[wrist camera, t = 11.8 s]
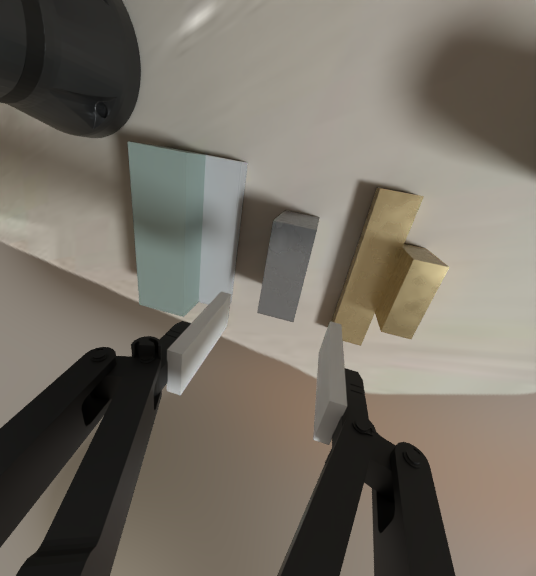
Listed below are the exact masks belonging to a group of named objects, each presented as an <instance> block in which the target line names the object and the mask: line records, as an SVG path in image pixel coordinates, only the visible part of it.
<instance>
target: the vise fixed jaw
mask: <svg viewBox="0 0 536 576" xmlns="http://www.w3.org/2000/svg"><path fill="white" fill-rule="evenodd" d="M128 154H129V168H130V181H131V195H132V208H133V222H134V236H135V249H136V263H137V277H138V290H139V304H140V305H143V306H147V307H150V308H154V309H157V310H161V311H164V312H168V313H172V314H175V315H179V316H182V317H184V316H185V315H186V314H187V313H188V312H189V311H190V310H191V309H192V308H193V307H194V306H195V305H196V304H197V303H198V302H201V303H205V304H208V305H209V304H210V303H211V302H212V301H213V300H214V299H215V297H216V296H217V295H218V294H219V293H220V292H221V291H222V292H225V293H229V294H231V301H232V292H233V283H234V275H235V266H236V258H237V249H238V241H239V232H240V223H241V215H242V206H243V198H244V189H245V181H246V172H247V164H248V163H247V162H242V161H237V160H232V159H226V158H221V157H216V156H211V155H205V154H200V153H195V152H190V151H184V150H179V149H174V148H169V147H163V146H156V145H149V144H142V143H135V142H128ZM231 301H230V303H231Z"/></svg>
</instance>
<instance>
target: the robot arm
mask: <svg viewBox="0 0 536 576" xmlns="http://www.w3.org/2000/svg"><path fill="white" fill-rule="evenodd" d="M140 76H141V67H140V55H139V48H138V43H137V39H136V35H135V31H134V28H133V25H132V22H131V19H130V17H129V14H128V12H127V10H126V7H125V6H124V4H123V2H122V0H0V102H1V103H5V104H8V105H10V106H12V107H14V108H16V109H18V110H20V111H22V112H24V113H26V114H28V115H30V116H32V117H34V118H35V119H37V120H39V121H41V122H43V123H45V124H47V125H49V126H51V127H53V128H55V129H57V130H59V131H62V132H64V133H67V134H71V135H75V136H82V137H89V138H102V137H106V136H109V135H111V134H113V133H115V132H117V131H118V130H119V129H120V128H121V127H122V126H123V125H124V124H125V123H126V122H127V121H128V119H129V117H130V116H131V114H132V112H133V110H134V107H135V105H136V102H137V98H138V94H139V88H140ZM230 301H231V294H229V293H225V292H222V291H221V292H220V293H219V294H218V295H217V296H216V297H215V299H214V300H213V301H212V302H211V303H210V304H209V305H208V306H207V307H206V308H205V309H204V310H203V311H202V313H201V314H200V315H199V316H198V317H197V318H196V319H195V320H194V321H193V322H192V323H188V322H184V321H182V322H179V323H177V324H175V325H174V326H173V327H172V328H171V329H170V330H169V331H168V332H167V333H166V334H165V335H164V336H163V337H162V338H161V339H160V340H159V339H157V338H155V337H151V336H148V337H141V338H139V339H137V340H135V341H134V342H133V343H132V344H131V349H132V357H126V356H116V353H115V351H114V350H113V349H111V348H109V347H100V348H96V349H93V350H90V351H89V352H87V353H86V354H85V355H84V356H82V357H81V358H80V359H79V360H78V361H77V362H76V363H74V364H73V365H72V366H71V367H70V368H69V369H68V370H67V371H65V372H64V373H63V374H62V375H61V376H60V377H58V378H57V379H56V380H55V381H54V382H53V383H52V384H51V385H49V386H48V387H47V388H46V389H45V390H44V391H43V392H41V393H40V394H39V395H38V396H37V397H36V398H35V399H33V400H32V401H31V402H30V403H29V404H28V405H27V406H25V407H24V408H23V409H22V410H21V411H20V412H19V413H17V414H16V415H15V416H14V417H13V418H12V419H11V420H9V422H7V423H6V424H5V425H4V426H3V427H2V428H0V547H1V546H2V545H3V543H4V542H5V541H6V540H7V538H8V537H9V536H10V534H11V533H12V532H13V531H14V529H15V528H16V527H17V526H18V524H19V523H20V522H21V520H22V519H23V518H24V517H25V515H26V514H27V513H28V512H29V510H30V509H31V508H32V506H33V505H34V504H35V503H36V501H37V500H38V499H39V498H40V496H41V495H42V494H43V492H44V491H45V490H46V489H47V487H48V486H49V485H50V483H51V482H52V481H53V480H54V478H55V477H56V476H57V475H58V473H59V472H60V471H61V469H62V468H63V467H64V466H65V464H66V463H67V462H68V460H69V459H70V458H71V457H72V455H73V454H74V453H75V452H76V450H77V449H78V448H79V447H80V445H81V444H82V443H83V441H84V440H85V439H86V438H87V436H88V435H89V434H90V433H91V431H92V430H93V429H94V427H95V426H96V425H97V424H98V422H99V421H100V420H101V418H102V417H103V416H104V417H103V419H102V421H101V423H100V425H99V427H98V429H97V431H96V433H95V435H94V437H93V439H92V442H91V444H90V446H89V448H88V450H87V452H86V454H85V456H84V458H83V460H82V462H81V464H80V466H79V469H78V470H77V472H76V474H75V477H74V479H73V481H72V483H71V485H70V487H69V489H68V491H67V493H66V495H65V497H64V499H63V501H62V503H61V505H60V508H59V509H58V512H57V514H56V516H55V518H54V520H53V522H52V524H51V526H50V528H49V530H48V532H47V534H46V536H45V538H44V540H43V542H42V544H41V546H40V547H39V549H38V550H37V551H36V553H34V554H33V555H32V556H30V557H29V558H28V559H27V560H26V561H25V563H24V564H23V565H22V566H21V568H20V570H19V571H18V573H17V575H16V576H110V573H111V569H112V566H113V562H114V559H115V556H116V552H117V549H118V545H119V541H120V538H121V534H122V531H123V528H124V524H125V521H126V517H127V514H128V510H129V507H130V504H131V500H132V497H133V493H134V490H135V486H136V483H137V479H138V476H139V472H140V469H141V466H142V462H143V459H144V455H145V452H146V448H147V444H148V441H149V438H150V434H151V431H152V427H153V424H154V420H155V416H156V414H157V410H158V407H159V403H160V399H161V395H162V389H163V388H164V386H165V385H166V384H167V391H169V392H172V393H175V394H178V395H181V394H182V392H183V391H184V389H185V388H186V386H187V385H188V383H189V382H190V380H191V379H192V377H193V376H194V374H195V373H196V372H197V370H198V368H199V367H200V366H201V364H202V363H203V361H204V360H205V358H206V357H207V355H208V354H209V352H210V351H211V349H212V348H213V346H214V345H215V343H216V342H217V340H218V339H219V337H220V336H221V335H222V333H223V332H224V330H225V329H226V327H227V323H228V316H229V308H230ZM313 440H316V441H319V442H322V443H325V444H328V445H329V444H330V442H331V440H332V449H331V451H330V453H329V455H328V458H327V460H326V462H325V465H324V468H323V470H322V472H321V474H320V477H319V479H318V481H317V484H316V486H315V488H314V491H313V493H312V496H311V498H310V500H309V503H308V505H307V507H306V510H305V512H304V514H303V517H302V519H301V521H300V524H299V526H298V528H297V531H296V533H295V535H294V538H293V540H292V543H291V545H290V547H289V549H288V552H287V554H286V556H285V559H284V561H283V563H282V566H281V568H280V570H279V573H278V575H277V576H339V575H340V571H341V567H342V564H343V560H344V556H345V553H346V548H347V545H348V541H349V537H350V534H351V530H352V526H353V522H354V518H355V515H356V511H357V507H358V503H359V500H360V496H361V492H362V488H363V484H364V483H366V484H367V485H369V486H370V487H371V488H372V505H373V507H372V508H373V541H374V576H455V572H454V568H453V564H452V560H451V555H450V551H449V547H448V542H447V538H446V534H445V529H444V525H443V521H442V517H441V513H440V508H439V504H438V500H437V496H436V491H435V487H434V482H433V478H432V474H431V469H430V465H429V463H428V460H427V459H426V457H425V456H424V454H423V453H422V452H421V451H420V450H419V449H417V448H416V447H415V446H413V445H411V444H410V443H406V442H401V443H398V444H397V445H394V444H392V443H391V442H389V441H387V440H386V439H384V438H383V437H381V436H380V435H379V434H378V433H377V432H376V430H375V427H374V425H373V424H372V423H371V422H370V421H369V419H368V411H367V405H366V399H365V392H364V386H363V380H362V378H361V376H360V375H359V373H358V372H356V371H352V370H349V369H346V368H344V354H343V340H342V326H341V324H338V323H334V322H331V321H330V323H329V325H328V328H327V331H326V334H325V337H324V340H323V343H322V345H321V348H320V351H319V359H318V374H317V391H316V406H315V422H314V436H313Z"/></svg>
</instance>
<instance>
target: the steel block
mask: <svg viewBox="0 0 536 576" xmlns="http://www.w3.org/2000/svg"><path fill="white" fill-rule="evenodd" d="M319 218H320V217H315V216H311V215H306V214H301V213H296V212H292V211H287V210H285V211H284V212H283V213H281V214H280V215H279V216H278V217H277V218H276V219H275V220H274V221H273V225H272V231H271V237H270V243H269V248H268V254H267V260H266V266H265V272H264V277H263V283H262V289H261V295H260V300H259V306H258V312H257V313H260V314H264V315H267V316H271V317H275V318H279V319H283V320H286V321H290V322H294V318H295V314H296V310H297V306H298V302H299V298H300V294H301V290H302V286H303V282H304V278H305V275H306V271H307V267H308V263H309V259H310V255H311V251H312V247H313V243H314V239H315V235H316V231H317V227H318V222H319Z"/></svg>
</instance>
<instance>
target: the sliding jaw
mask: <svg viewBox="0 0 536 576" xmlns="http://www.w3.org/2000/svg"><path fill="white" fill-rule="evenodd" d="M422 200H423V196H419V195H415V194H410V193H405V192H399V191H394V190H389V189H384V188H378V187H377V189H376V192H375V195H374V198H373V201H372V204H371V207H370V210H369V213H368V215H367V218H366V221H365V224H364V227H363V230H362V233H361V236H360V239H359V242H358V245H357V248H356V251H355V254H354V257H353V260H352V263H351V266H350V269H349V272H348V275H347V278H346V281H345V284H344V287H343V290H342V292H341V295H340V298H339V301H338V304H337V307H336V310H335V313H334V316H333V319H332V322H334V323H338V324H341V326H342V340H343V341H346V342H349V343H353V344H357V345H361V344H362V342H363V339H364V337H365V335H366V332H367V330H368V328H369V325H370V323H371V320H372V318H373V316H374V313H375V314H376V317H377V321H378V324H379V327H380V330H381V332H385V333H388V334H392V335H396V336H400V337H404V338H408V339H412V337H413V335H414V333H415V331H416V329H417V327H418V325H419V323H420V322H421V320H422V318H423V316H424V314H425V312H426V310H427V308H428V306H429V305H430V303H431V301H432V299H433V297H434V295H435V293H436V291H437V289H438V288H439V286H440V284H441V282H442V280H443V278H444V276H445V274H446V272H447V271H448V269H449V267H448V266H447V265H446V264H445V263H443V262H442V261H441V260H440V259H438V258H437V257H436V256H435V255H434V254H432V253H431V252H430V251H429V250H427V249H426V248H421V247H417V246H412V245H407V244H404V242H405V240H406V238H407V235H408V233H409V230H410V228H411V226H412V223H413V221H414V219H415V216H416V214H417V211H418V209H419V207H420V204H421V202H422Z"/></svg>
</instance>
